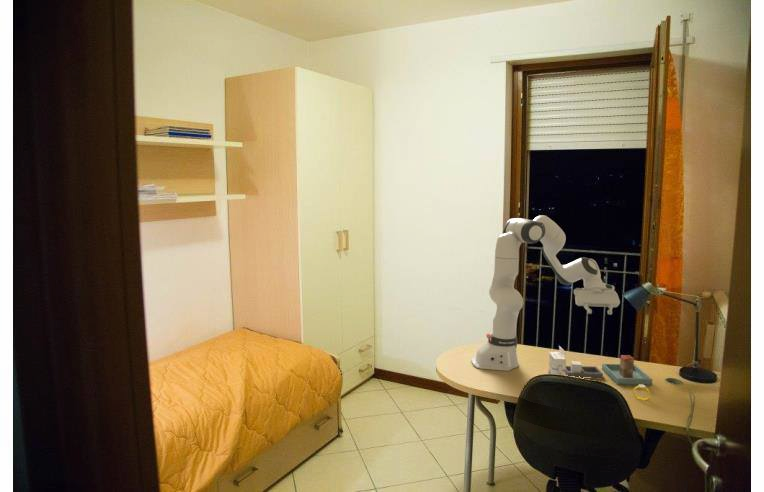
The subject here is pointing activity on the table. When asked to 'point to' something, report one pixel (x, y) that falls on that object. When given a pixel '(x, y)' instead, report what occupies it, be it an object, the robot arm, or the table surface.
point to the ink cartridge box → (557, 362)
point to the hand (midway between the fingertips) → (600, 313)
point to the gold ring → (641, 388)
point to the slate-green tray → (637, 379)
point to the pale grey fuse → (576, 366)
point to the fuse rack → (583, 372)
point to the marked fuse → (626, 366)
